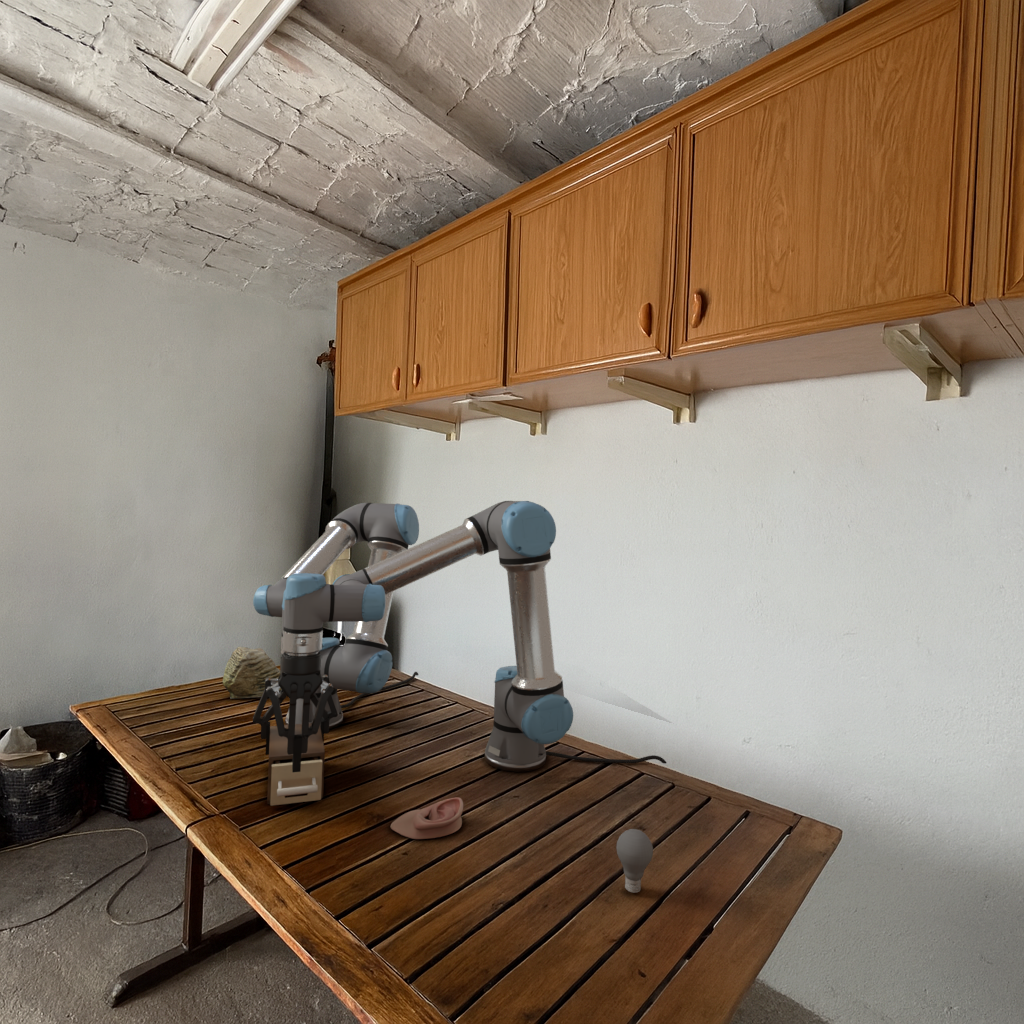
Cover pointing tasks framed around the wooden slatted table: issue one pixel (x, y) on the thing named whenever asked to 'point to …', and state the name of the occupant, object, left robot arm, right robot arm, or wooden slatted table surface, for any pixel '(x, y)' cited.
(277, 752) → the tall brown box
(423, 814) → the anatomical model
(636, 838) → the light bulb
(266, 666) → the fossil
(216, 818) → the wooden slatted table surface
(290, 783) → the drawer
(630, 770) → the wooden slatted table surface
